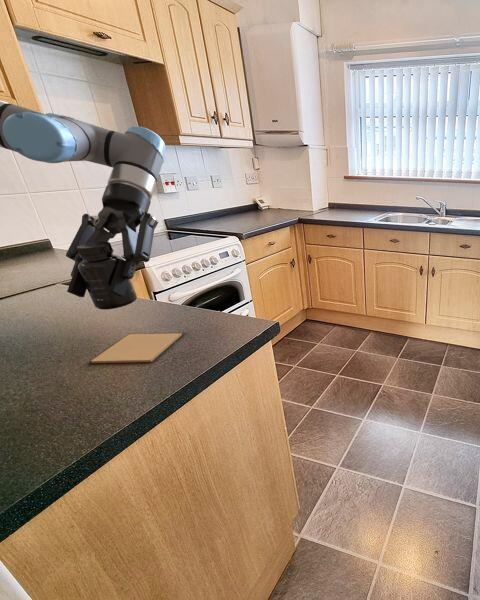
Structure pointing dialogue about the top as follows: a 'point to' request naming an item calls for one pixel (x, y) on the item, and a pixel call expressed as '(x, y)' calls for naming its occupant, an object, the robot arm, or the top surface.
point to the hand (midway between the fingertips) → (96, 294)
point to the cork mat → (137, 348)
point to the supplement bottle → (102, 275)
